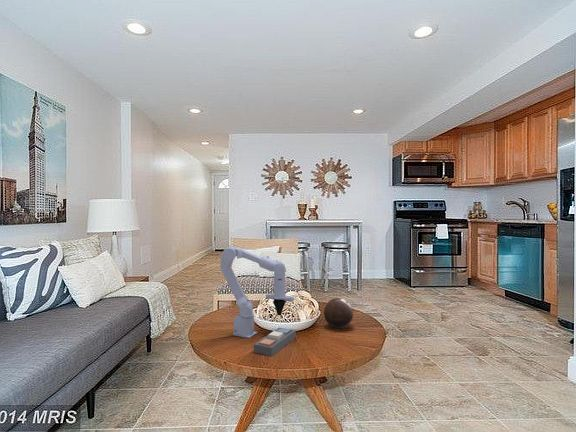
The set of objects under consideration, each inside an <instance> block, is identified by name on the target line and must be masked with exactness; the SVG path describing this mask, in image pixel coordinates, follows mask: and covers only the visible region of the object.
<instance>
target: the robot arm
mask: <svg viewBox="0 0 576 432" xmlns="http://www.w3.org/2000/svg"><path fill="white" fill-rule="evenodd" d="M220 258H221V259H220V266H219V269H220V271H221V272H222V275H223V277H224V278H225V281H226V283H227V285H228V287H229V288H230V290H231V292H232V295H233V296H234V298H235V300H236V303H237V307H238V309H239V312H238V313H239V314H237V315H235V317H234V319H233V333H232V336H237V337H240V338H241V337H242V338H247V339H248V338H249V339H250V338H252V337H253V336H255V335H256V334H258V331H255V315H254V313H253V310H254V304H253V302H252V301H251V300H249V298H248V296H247V294H246V293H245V292H244V290H243V288H242V286H241V284H240V282H239V280H238V278H237V276H236V274H235V272H234V270H233V269H232V264H233V262H234V260H235V258H236V259H245V260H248V261H251V262H254V263H257V264H258V266H259V267H260V268H262V269H264V270H266V271H269V272H271V273H272V272H273V273H274V274H273V276H274V277H273V294H272V293H268V294H267V293H266V294H265V299H266V300H268V299H269V300H273V301H272V304H273V305H274V307H275V311H276V315H277V316H281V315H282V314H283V309H284V307H285V304H286V302H291V303H293V302H294V300H295V299H294V298H295V297H293V296H289V295H286V272H287V269H286V265H285V264H284V263H283V262H281V261H279V260H277V259H272V258H270V256H269V255H264V256H263V255H262V256H260V255H258V254H255V253H252V252H250V251H248V250H246V249H244V248H241V247H237V246H234V245H228V246H227V247H226V248H225V249H223V251H222V254H221V255H220Z"/></svg>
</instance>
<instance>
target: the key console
mask: <svg viewBox="0 0 576 432" xmlns="http://www.w3.org/2000/svg"><path fill="white" fill-rule="evenodd" d="M281 328H282V327H279V328H276V329H275V330H274V331H278V330H279V329H281ZM296 338H297V331H296V329H291V332H289V333H288V334H283V337H282V338H281V339H280V340H276V339H270V338H268V334H267V335H266V336H265V337H263V338H261V339H260V340H258V341H257V342H255V343H253V354H254V353H255V354H260V355H264V356H269V357H272V356H274V355H276V354H277V353H278V352H279V351H280V350H282V349H283V348H285V347H286V346H288V344H290V343H291V342H292V341H294V340H295V339H296ZM264 339H269V340H275V343H274V344H273V345H271V346H265V345H260V344H259V342H261V341H262V340H264Z"/></svg>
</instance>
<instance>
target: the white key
mask: <svg viewBox="0 0 576 432" xmlns="http://www.w3.org/2000/svg"><path fill="white" fill-rule="evenodd" d="M267 335H268V338H270V339H276V340H280V339H281V338H282V337H283V333H282V332H277V331H275V330H273V331H272V332H270V333H268V334H267Z"/></svg>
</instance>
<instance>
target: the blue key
mask: <svg viewBox="0 0 576 432" xmlns="http://www.w3.org/2000/svg"><path fill="white" fill-rule="evenodd" d="M280 328H281V329H279V330H278V331H277V332H282V333H283V334H288V333H289V332H291V330H292V329H290V328H285V327H280Z"/></svg>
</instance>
